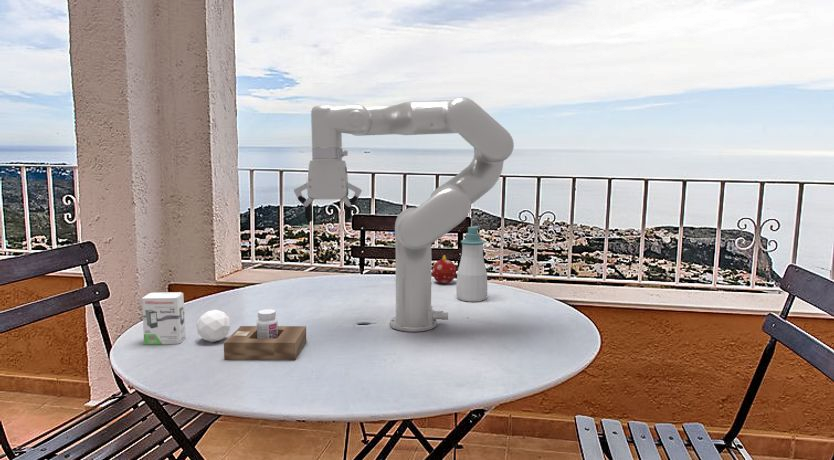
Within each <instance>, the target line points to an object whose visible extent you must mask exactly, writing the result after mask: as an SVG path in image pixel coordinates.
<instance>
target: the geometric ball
mask: <svg viewBox="0 0 834 460" xmlns="http://www.w3.org/2000/svg"><path fill="white" fill-rule="evenodd" d="M231 325H232V324H231V318H230V317H229V316H228V315H227V314H226V313H225V312H224V311H222V310H218V309H212V310H209V311H205V312H204V313H203V314H202V315H200V317H199V319H198V321H197V323H196V329H197V334H198V335H200V337H201V338H202V339H203V340H205V341H208V342H211V343H214V342H218V341H221V340H223V339H224V338H225V337H227V336H228V335H229V332H230V330H231Z"/></svg>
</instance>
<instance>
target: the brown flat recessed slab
mask: <svg viewBox="0 0 834 460" xmlns="http://www.w3.org/2000/svg"><path fill="white" fill-rule="evenodd" d="M306 344H307V326H305V325H302V326H301V325H299V326H298V325H297V326H295V325H293V326H292V325H290V326H289V325H278V338H277V339H257V325H241V326H238V328H237V329H236V330H235V331H234V332H233V333H231V335H230V336H229V337H228V338H226V340H224V341H223V359H224V360H225V361H226V360H230V361H235V360H237V361H241V360H242V361H246V360H247V361H251V360H252V361H296V360H297V358H298V356H299V355H300V353H301V352H302V350H303V349H304V347H305V345H306Z"/></svg>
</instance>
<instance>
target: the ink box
mask: <svg viewBox="0 0 834 460" xmlns="http://www.w3.org/2000/svg"><path fill="white" fill-rule="evenodd" d="M141 307H142V310H141V311H142V326H143V345H179V344H181V342H183V341H184V340H185V339H186V318H185V300H184V292H181V291H179V292H174V291H173V292H171V291H170V292H150V293H148V294H146V295H145V296H143V297H141Z"/></svg>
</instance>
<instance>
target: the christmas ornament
mask: <svg viewBox="0 0 834 460" xmlns="http://www.w3.org/2000/svg"><path fill="white" fill-rule="evenodd" d="M431 275H432V277H433V278H434V280H435V281H437V282H438V283H440V284H448V283H451V282H452V281H453V280H454V279H455V278H456V277H457V266H456V265H455V263H454V262H453V261H451V260H449V259H448V258H447V257H446V255H445V254H444V255H443V256H442V259H439V260H437V261H436V262H434V265H433V267H432V268H431Z"/></svg>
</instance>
